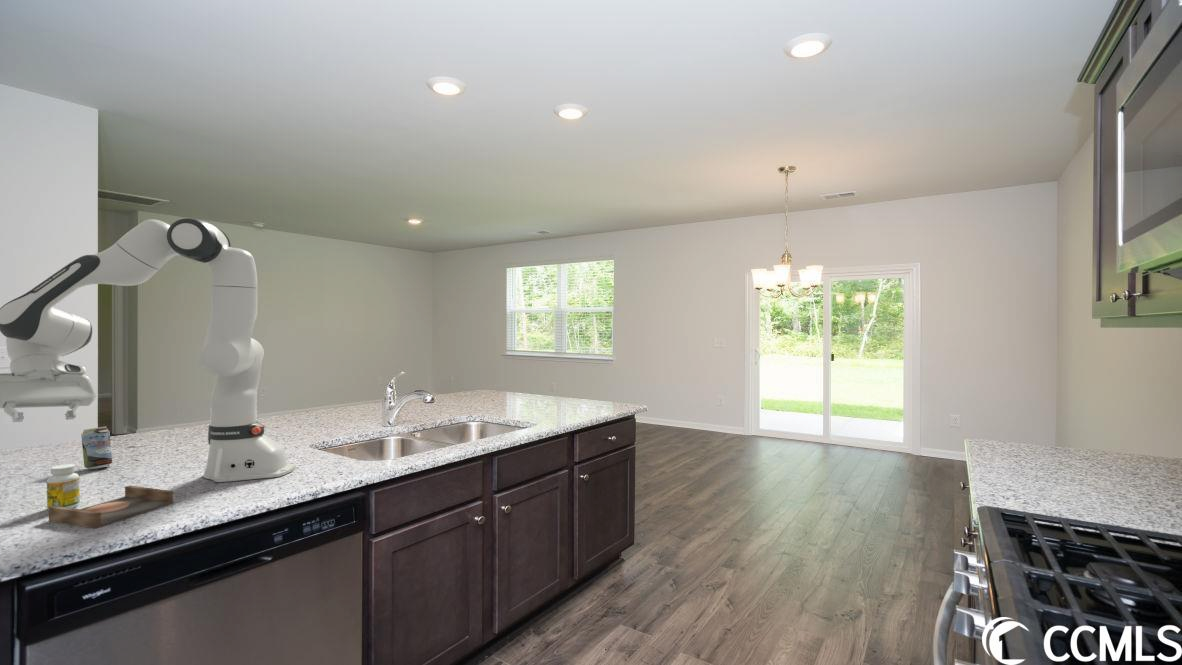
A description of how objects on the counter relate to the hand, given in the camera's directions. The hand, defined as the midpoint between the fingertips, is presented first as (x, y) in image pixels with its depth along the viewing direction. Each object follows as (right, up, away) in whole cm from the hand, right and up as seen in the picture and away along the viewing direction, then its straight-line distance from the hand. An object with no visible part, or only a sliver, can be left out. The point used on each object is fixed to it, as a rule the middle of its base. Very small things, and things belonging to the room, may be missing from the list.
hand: (45, 419), depth 132 cm
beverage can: (-10, -18, +25) cm, 32 cm away
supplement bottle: (+12, -19, -7) cm, 24 cm away
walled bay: (+25, -19, -10) cm, 33 cm away
